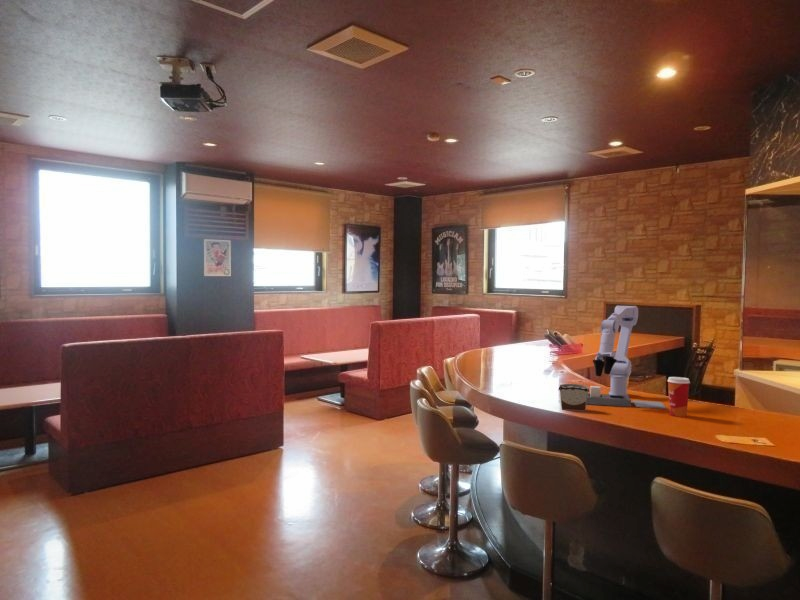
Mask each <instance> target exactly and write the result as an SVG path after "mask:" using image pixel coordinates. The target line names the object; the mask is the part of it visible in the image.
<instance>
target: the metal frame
mask: <svg viewBox="0 0 800 600" xmlns="http://www.w3.org/2000/svg"><path fill="white" fill-rule="evenodd" d="M628 396H629V395H628V394H627V395H610V394H609V393H608V394H607V393H601V397H590V392H588V395H587V402H586V405H593V406H610V407H627V408H631V407H632V400H631V398H630V396H629V397H628Z"/></svg>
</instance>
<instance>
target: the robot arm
mask: <svg viewBox="0 0 800 600" xmlns="http://www.w3.org/2000/svg"><path fill="white" fill-rule="evenodd" d="M638 318H639V308H638V306H637V305H616V306H615V307H614V311H613V313H611V314H610V315H609V317H607V319H604V320H601V323H600V335H601V336H600V343H599V350H598V352H596V353H595V354H596V356H595V359H593V360H592V362H593V365H594V370H595V371H594V372H595V376H596V377H602V376H603V375H602V374H604V375H605V374H606V375H608V376H609V377H610V391H608V394H610V395H628V393H627V392H628V378H629V377H630V376H631V374H632V361H631V360H630V359H629V357H628V350H629V345H630V340H631V335H632V334H631V333H632V331H633V330H632V329H633V327H634V326H636V325H637V322H638ZM619 328H620V332H619ZM616 333H619V337H618V340H617V341H618V342H617V347H616V351H615V352H614V346H615V340H616ZM628 397H629V398H630V396H629V395H628Z"/></svg>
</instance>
